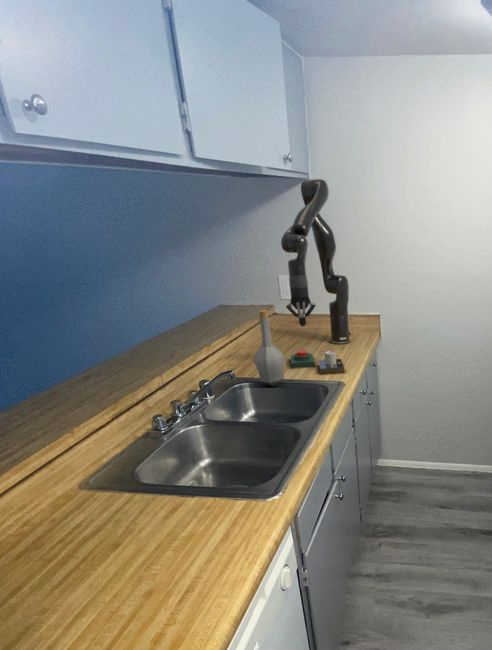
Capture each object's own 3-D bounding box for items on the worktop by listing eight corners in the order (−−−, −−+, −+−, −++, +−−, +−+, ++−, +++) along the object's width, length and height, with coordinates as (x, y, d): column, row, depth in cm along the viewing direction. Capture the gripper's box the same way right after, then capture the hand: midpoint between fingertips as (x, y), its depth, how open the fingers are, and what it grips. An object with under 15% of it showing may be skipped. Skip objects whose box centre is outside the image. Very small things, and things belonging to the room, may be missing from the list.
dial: (330, 366, 204) (329, 354, 202) (323, 363, 207) (322, 351, 205) (338, 363, 207) (337, 351, 205) (331, 361, 210) (330, 349, 208)
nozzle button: (297, 354, 215) (296, 350, 214) (306, 353, 216) (305, 350, 215) (297, 357, 212) (297, 353, 211) (306, 356, 212) (306, 352, 212)
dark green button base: (291, 359, 219) (290, 351, 218) (312, 358, 222) (312, 350, 220) (291, 368, 209) (290, 359, 207) (314, 366, 211) (313, 357, 209)
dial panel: (318, 365, 213) (318, 359, 211) (341, 363, 215) (340, 358, 213) (321, 374, 202) (320, 368, 201) (344, 372, 204) (343, 366, 203)
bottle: (292, 382, 193) (283, 308, 179) (279, 392, 184) (269, 315, 169) (266, 380, 195) (256, 306, 181) (253, 390, 186) (241, 313, 172)
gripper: (313, 283, 205) (317, 322, 214) (282, 284, 202) (287, 324, 211) (315, 286, 199) (318, 327, 207) (283, 287, 196) (287, 328, 204)
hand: (302, 325), depth 209 cm, fingers closed
